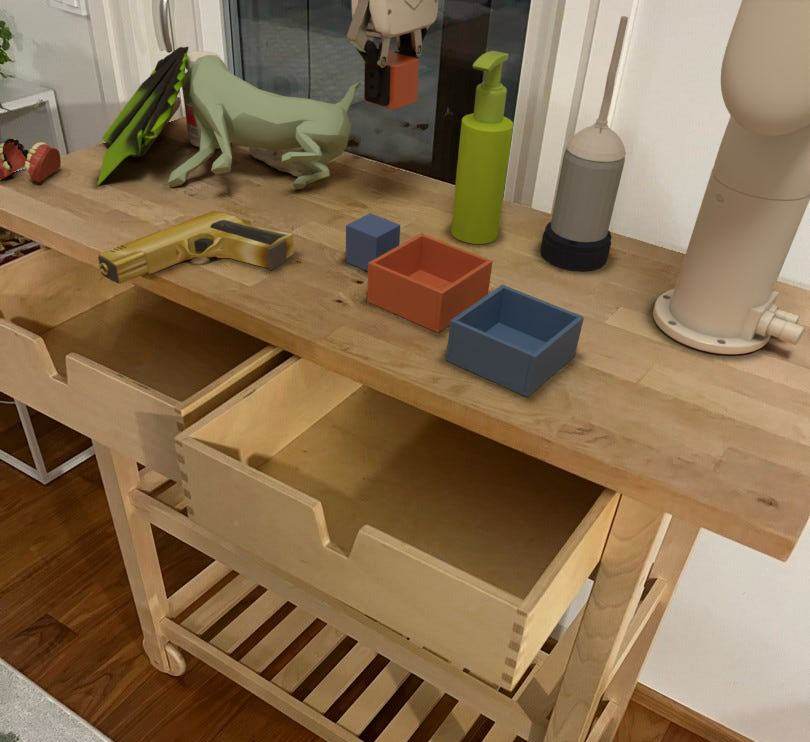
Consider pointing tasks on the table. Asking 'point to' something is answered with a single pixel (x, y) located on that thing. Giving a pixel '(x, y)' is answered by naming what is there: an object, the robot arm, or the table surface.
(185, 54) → the cloth
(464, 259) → the terracotta bin
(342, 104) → the statue
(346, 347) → the table surface
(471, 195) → the soap dispenser
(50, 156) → the dentures
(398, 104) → the terracotta block
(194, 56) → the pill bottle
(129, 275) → the handgun
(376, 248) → the blue block
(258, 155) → the sponge
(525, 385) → the blue bin
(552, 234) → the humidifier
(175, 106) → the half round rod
